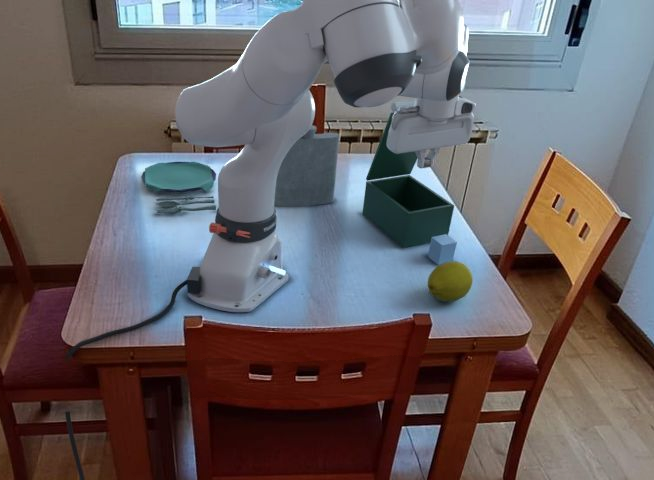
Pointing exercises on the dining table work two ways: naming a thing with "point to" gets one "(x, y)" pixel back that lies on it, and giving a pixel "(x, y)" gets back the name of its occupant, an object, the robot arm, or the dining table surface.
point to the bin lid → (391, 153)
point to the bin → (406, 210)
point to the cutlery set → (179, 183)
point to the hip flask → (308, 171)
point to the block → (442, 249)
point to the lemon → (450, 281)
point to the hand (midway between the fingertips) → (424, 166)
